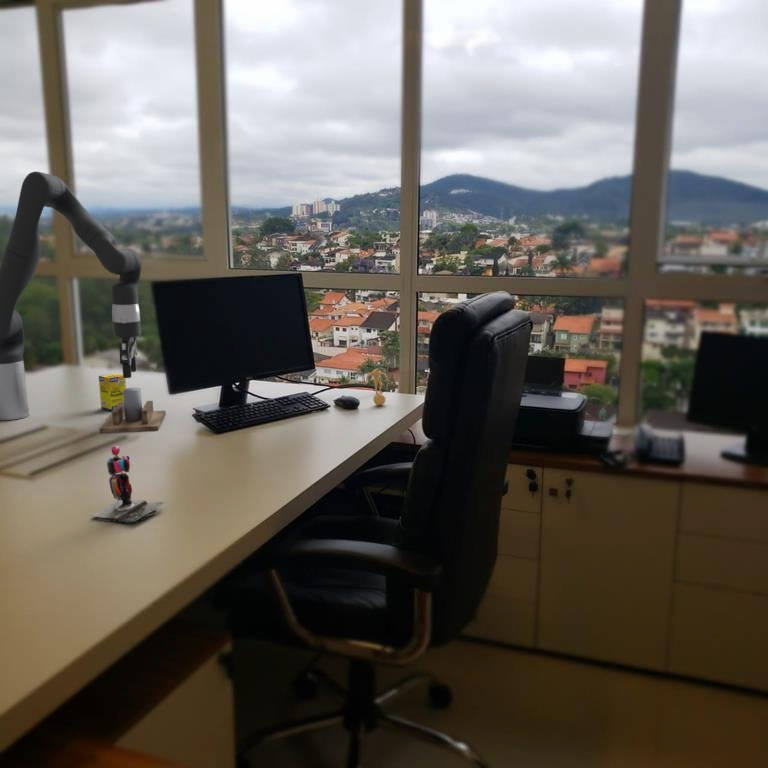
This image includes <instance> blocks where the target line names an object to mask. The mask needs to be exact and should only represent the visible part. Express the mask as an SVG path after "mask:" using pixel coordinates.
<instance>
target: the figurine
mask: <svg viewBox="0 0 768 768" xmlns="http://www.w3.org/2000/svg"><path fill="white" fill-rule="evenodd" d="M372 375H373V377H374V379H373V384H374V390H375V394H374V396H373V398H372V399H373V403H374V404H375V405H376V406H383V405H384V404H385V403H386V396H385V395H384V393H383V392H382V388H383V382H382V378H380V376H381V375H384V376H385V378H386V379H387V381H388V382H389V383H390V382H391V381H390V379H389V377H388V376H387V374H386V373H385V372H383V371H382V370H380V369H379V367H377V368H375V369H373V371H371V372H370V373H368V374H367V375H366V379H365V384H366V385H367V384H368V380H369V377H370V376H372ZM378 385H379V388H378ZM378 389H379V390H378ZM378 391H379V393H378Z"/></svg>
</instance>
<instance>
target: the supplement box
mask: <svg viewBox="0 0 768 768" xmlns="http://www.w3.org/2000/svg"><path fill="white" fill-rule="evenodd" d="M98 384H99V385H98V386H99V396H100V397H99V398H100V409H101V410H104V411H108V412H111V413H112V412H113V410H114V409H115V408H116V406H117V405H118V404H119V402H124V399H123V389H126V388H127V383H126V378H124V377H123V373H122V374H120V373H117V372H114V373H109V374H108V373H107V374H102V375H98Z"/></svg>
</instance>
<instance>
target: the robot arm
mask: <svg viewBox="0 0 768 768" xmlns="http://www.w3.org/2000/svg"><path fill="white" fill-rule="evenodd" d="M17 202H18V203H17V206H16V207H17V208H16V213H15V217H14V221H13V224H12V228H11V231H10V235H9V238H8V240H7V243H6V246H5V250H4V252H3V254H2V255H3V256H2V258H1V262H0V420H1V421H13V420H18V419H24V418H27V417H28V416H30V410H29V409H30V408H29V401H28V400H29V399H28V390H27V389H28V388H27V382H26V374H25V373H26V371H25V363H24V352H25V332H24V331H25V330H24V323H23V319H22V317H21V315H20V313H19V312H18V311H17V310H16V306H17V303H18V301H19V299H20V297H21V295H22V294H23V293H24V292H25V289H26V288H27V287H28V285H29V283H30V282H31V280H32V279H33V277H34V276H35V273H36V271H37V268H38V265H39V262H40V260H41V256H42V255H41V254H42V245H41V240H40V239H41V238H40V232H39V225H40V220H41V216H42V212H43V210H44V208H45V207H46V208H52V209H54V210H56V211H57V212H58V213H60V214H61V215H62V216H64V217H65V218H66V219H67V221H68V222H69V223H70V224H71V227H72V228H73V231H74V232H75V234H76V236H77V237H78V238H79V239H80V240H81V241H82V242H83V244H85V245H86V246H87V247H88V248H90V250H91V251H93V252H94V254H95V256H96V257H97V259H98V261H99V262H100V264H101V265H102V266H103V268H104V269H105V270H107V271H108V272H109V273H111V274H113V275H117V276H119V279H118V281H117V282H116V283H113V285H112V287H111V301H112V303H111V304H112V307H111V308H112V310H111V311H112V312H111V314H112V315H111V316H112V318H111V319H112V331H113V332H112V333H113V336H114V337H115V338H121V342H120V343H118V349H119V364H120V365H121V366H122V375H123V377H124V378H125V379H130V378H132V373H136V372H137V363H136V362H137V356H138V348H137V337H140V336H141V335H142V328H141V312H140V311H141V309H140V306H139V293H138V292H139V290H138V289H139V283H140V279H141V272H142V260H141V256H140V254H139V253H138V252H137V250H134V249H133V248H121V249H120V248H117V247H116V246H115V245H116V238H115V236H114V235H113V234H112V233H111V232H110V231H109V230H107V229H106V227H104V225H102V224H101V223H100V222H99V221H98V220H97V219H96V218H95V217H94V216H93V215H92V214H91V213H90V212H89V211H88V210H87V208H85V207H84V206H83V205H82V203H81V202H80V201H79V200H78V199H77V197H76V196H75V194H73V192H72V191H71V190H70V188H69V187H68V185H67V184H66V183H65V182H64V180H62V179H61V178H60V177H58V176H56V175H53V174H49V173H44V172H41V171H31V172H30V173H28V174H27V175H26V176H25V178H24V179H23V181H22V185H21V187H20V192H19V196H18V201H17Z"/></svg>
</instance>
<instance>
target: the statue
mask: <svg viewBox="0 0 768 768" xmlns="http://www.w3.org/2000/svg"><path fill="white" fill-rule="evenodd" d="M120 452H121V450H120V446H118V445H114V446H112V448H111V453H112V455H113V457H112V458H111V457H109V459H108V460H107V461H106V466H107V473H108V474H109V476H110V477H109V480H108V481H109V487H110V491H111V494H112V497H113V498H114V499H115V500H117V501H115V502H114V503H112V504H110V505H108V506H106V507H104V508H103V509H101V510H99V511H97V512H96V513H94V514H92V515H90V517H93V518H90V519H92V520H99V521H100V522H101V521H106V522H116V521H118V524H123V525H130V524H132V525H133V524H135V523H137V522H138V521H139V519H140V521H143V520H145V519H148V517H149V516H150V517H151V516H153V515H155V514H156V509H157V508H159V507H160V506H161V505H163V504H164V503H165V502H163V501H157V502H148V501H146V499H134V498H133V499H132V493H133V488H132V484H131V483H130V478H129V477H130V476H129V475H128V474H127V473H129V472H130V469H131V463H130V456H128V455H125V456H124V455H122V456H120V455H119V454H120Z"/></svg>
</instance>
